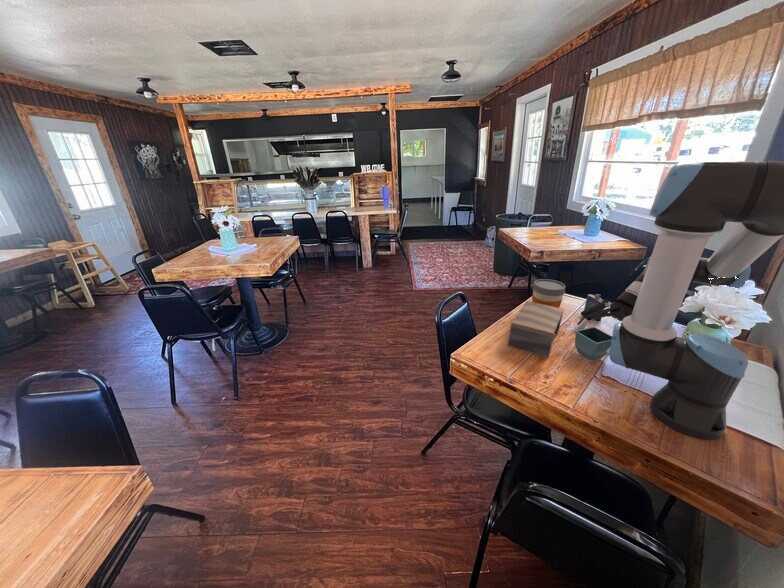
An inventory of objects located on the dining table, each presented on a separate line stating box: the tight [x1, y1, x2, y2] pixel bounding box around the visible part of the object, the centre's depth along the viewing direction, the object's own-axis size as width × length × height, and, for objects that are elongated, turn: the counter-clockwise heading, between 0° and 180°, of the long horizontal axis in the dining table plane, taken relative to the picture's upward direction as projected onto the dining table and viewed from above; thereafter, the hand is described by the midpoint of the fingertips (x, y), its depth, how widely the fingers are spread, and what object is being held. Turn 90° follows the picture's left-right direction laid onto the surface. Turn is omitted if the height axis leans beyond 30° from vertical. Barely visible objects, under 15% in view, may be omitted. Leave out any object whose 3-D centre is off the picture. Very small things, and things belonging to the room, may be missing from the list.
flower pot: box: [574, 326, 612, 362], centre depth 110 cm, size 9×9×9 cm
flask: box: [583, 293, 604, 322], centre depth 136 cm, size 9×3×11 cm, turn 9°
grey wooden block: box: [507, 300, 564, 359], centre depth 121 cm, size 22×14×10 cm, turn 145°
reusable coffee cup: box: [531, 278, 566, 308], centre depth 137 cm, size 13×13×15 cm
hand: (590, 343), depth 109 cm, fingers open, 13 cm apart
